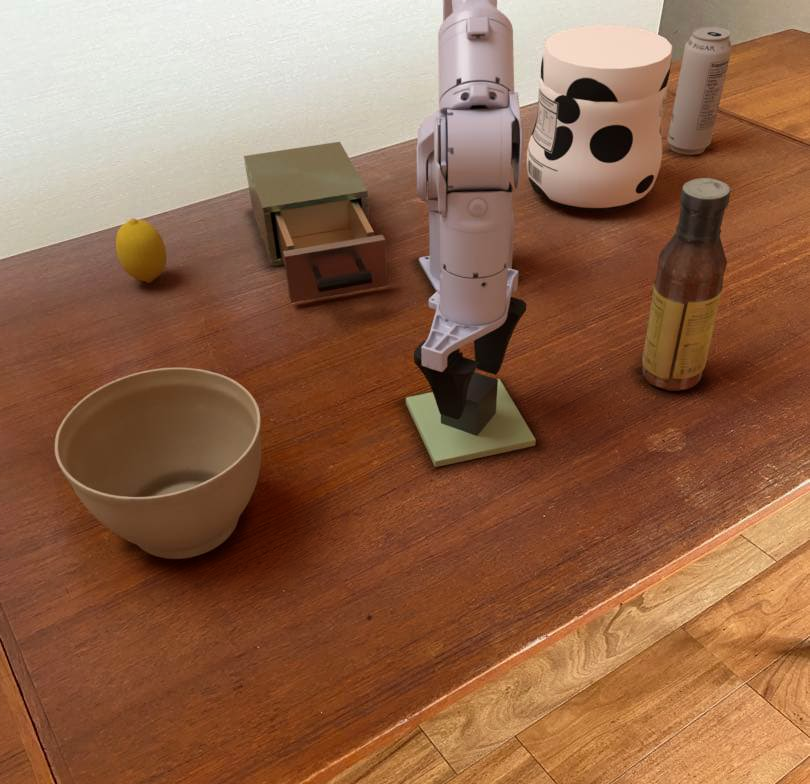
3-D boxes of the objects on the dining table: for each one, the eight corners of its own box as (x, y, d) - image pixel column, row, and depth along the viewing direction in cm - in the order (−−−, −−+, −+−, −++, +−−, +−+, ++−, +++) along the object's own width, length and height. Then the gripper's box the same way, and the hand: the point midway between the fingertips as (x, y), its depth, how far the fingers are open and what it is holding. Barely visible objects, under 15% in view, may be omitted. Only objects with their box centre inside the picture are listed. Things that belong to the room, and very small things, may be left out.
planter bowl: (196, 620, 69) (164, 527, 61) (56, 544, 75) (10, 451, 67) (314, 498, 78) (300, 403, 70) (180, 439, 84) (153, 346, 76)
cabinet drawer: (397, 304, 98) (395, 257, 94) (298, 322, 96) (291, 275, 92) (359, 231, 109) (356, 186, 105) (271, 246, 108) (264, 201, 103)
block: (459, 400, 86) (460, 367, 83) (496, 412, 85) (498, 379, 82) (440, 423, 84) (440, 390, 81) (477, 436, 82) (478, 402, 79)
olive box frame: (371, 249, 108) (367, 190, 102) (271, 266, 106) (262, 207, 100) (344, 198, 118) (339, 141, 112) (253, 212, 116) (243, 155, 110)
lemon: (162, 296, 102) (145, 232, 96) (119, 292, 103) (99, 229, 97) (179, 271, 106) (164, 209, 100) (137, 268, 107) (120, 206, 101)
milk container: (673, 180, 118) (703, 35, 105) (623, 235, 109) (649, 83, 95) (558, 154, 125) (572, 14, 112) (501, 203, 115) (509, 56, 102)
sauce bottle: (704, 363, 90) (755, 175, 76) (697, 399, 86) (749, 208, 72) (640, 353, 92) (678, 167, 77) (631, 387, 88) (669, 198, 73)
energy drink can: (682, 135, 128) (705, 21, 117) (717, 147, 125) (744, 32, 114) (657, 147, 125) (678, 33, 114) (692, 160, 122) (717, 43, 111)
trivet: (499, 384, 89) (499, 378, 88) (535, 446, 82) (536, 439, 82) (405, 403, 87) (405, 397, 87) (435, 467, 81) (435, 461, 80)
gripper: (471, 212, 77) (468, 340, 87) (387, 290, 69) (394, 422, 79) (544, 230, 75) (531, 360, 85) (465, 313, 67) (462, 446, 77)
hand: (469, 391), depth 82 cm, fingers open, 7 cm apart
